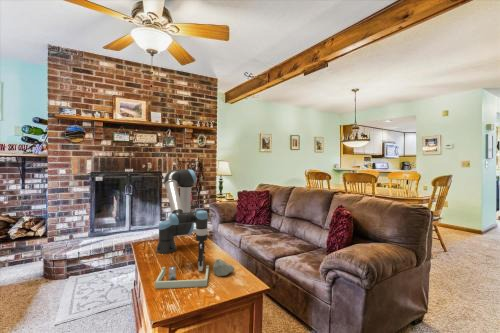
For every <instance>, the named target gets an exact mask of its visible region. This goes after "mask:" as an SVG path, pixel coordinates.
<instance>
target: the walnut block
mask: <svg viewBox="0 0 500 333" xmlns="http://www.w3.org/2000/svg"><path fill="white" fill-rule="evenodd" d="M198 259H199V255H198V256H197V260H198ZM198 269H199V261H197V270H198ZM203 269H205V270H206V255H204V256H203Z"/></svg>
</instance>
